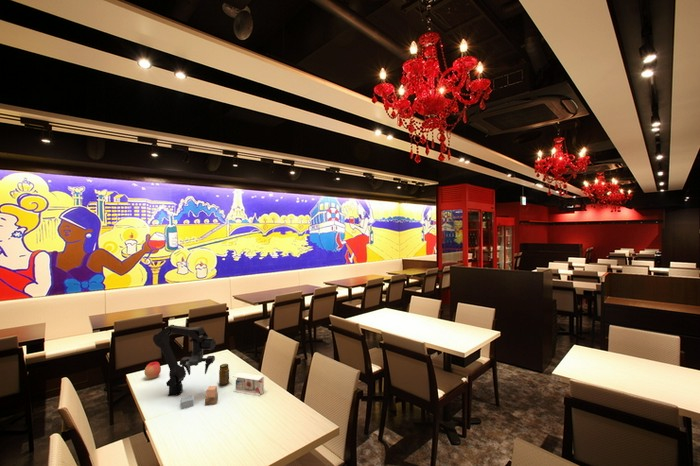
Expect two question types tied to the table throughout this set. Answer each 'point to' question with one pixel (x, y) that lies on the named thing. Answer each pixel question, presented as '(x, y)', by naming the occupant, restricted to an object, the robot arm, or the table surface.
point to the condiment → (224, 376)
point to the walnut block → (211, 400)
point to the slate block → (186, 402)
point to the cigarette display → (249, 383)
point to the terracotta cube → (211, 391)
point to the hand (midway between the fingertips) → (197, 374)
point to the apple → (152, 370)
